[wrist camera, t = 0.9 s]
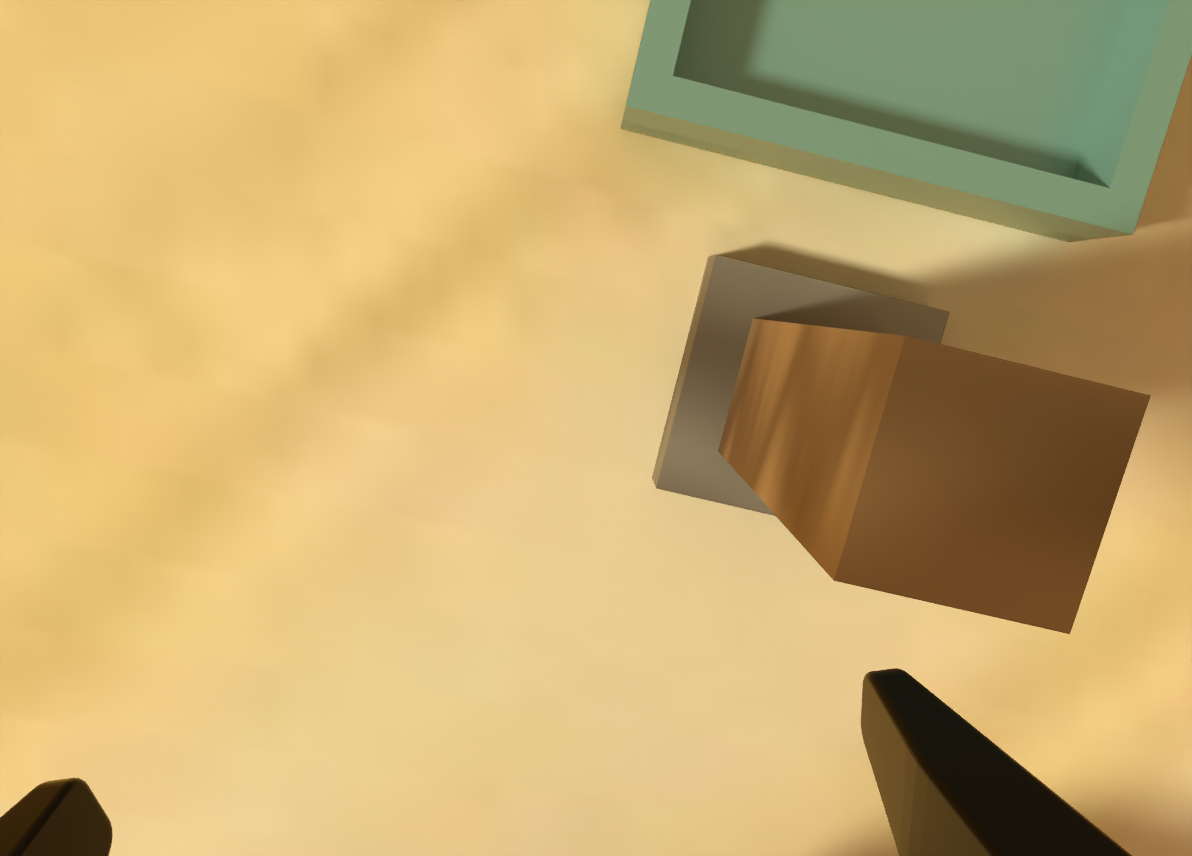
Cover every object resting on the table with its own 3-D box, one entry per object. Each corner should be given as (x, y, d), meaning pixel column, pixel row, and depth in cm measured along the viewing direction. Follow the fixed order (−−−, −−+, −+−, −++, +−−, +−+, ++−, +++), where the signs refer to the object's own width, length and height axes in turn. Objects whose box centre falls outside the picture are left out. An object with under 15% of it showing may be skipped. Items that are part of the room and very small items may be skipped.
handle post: (864, 526, 27) (1126, 737, 14) (651, 477, 26) (719, 647, 14) (928, 311, 26) (1273, 324, 13) (708, 256, 25) (838, 214, 13)
